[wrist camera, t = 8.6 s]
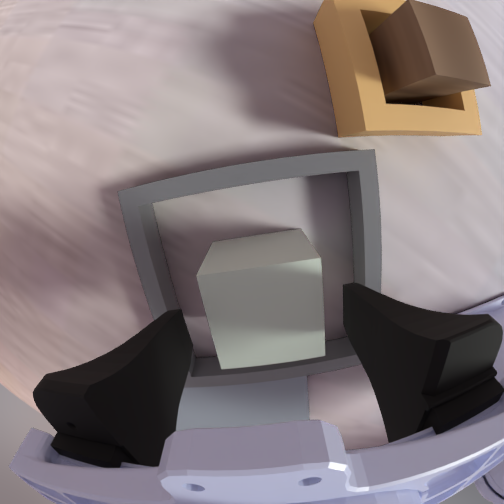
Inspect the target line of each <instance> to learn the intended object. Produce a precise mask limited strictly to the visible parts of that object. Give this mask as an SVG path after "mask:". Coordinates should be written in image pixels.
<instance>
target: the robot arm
mask: <svg viewBox="0 0 504 504" xmlns="http://www.w3.org/2000/svg"><path fill="white" fill-rule="evenodd" d="M343 324H344V327H345V330H346V332H347V335H348V338H349V341H350V343H351V345H352V347H353V348H354V350H355V352H356V354H357V356H358V358H359V360H360V362H361V364H362V365H363V367H364V369H365V371H366V373H367V375H368V377H369V379H370V382H371V384H372V387H373V390H374V392H375V395H376V398H377V401H378V404H379V408H380V411H381V414H382V418H383V421H384V425H385V429H386V433H387V437H388V442H389V443H388V444H385V445H382V446H378V447H371V448H362V449H353V450H345V447H344V444H343V440H342V436H341V434H340V432H339V430H338V427H337V426H336V425H333V424H330V423H327V422H324V421H321V420H294V421H288V422H280V423H272V424H263V425H253V426H241V427H223V428H193V429H187V430H180V431H176V424H177V417H178V409H179V404H180V400H181V396H182V393H183V389H184V386H185V382H186V379H187V375H188V371H189V368H190V364H191V357H192V349H193V344H192V341H191V338H190V335H189V332H188V329H187V326H186V323H185V320H184V317H183V314H182V310H181V309H176V310H168V311H167V312H165V313H163V314H162V315H161V316H159V317H158V318H157V319H156V320H154V321H153V322H152V323H150V324H149V325H148V326H147V327H145V328H144V329H143V330H142V331H140V332H139V333H138V334H136V335H135V336H133V337H132V338H131V339H129V340H128V341H126V342H125V343H123V344H122V345H120V346H119V347H117V348H115V349H114V350H112V351H110V352H108V353H107V354H104V355H102V356H100V357H98V358H96V359H94V360H92V361H89V362H87V363H84V364H82V365H79V366H76V367H73V368H70V369H66V370H62V371H58V372H54V373H49V374H46V375H45V376H44V377H43V379H42V380H41V381H40V382H39V384H38V385H37V386H36V388H35V389H34V391H33V398H34V401H35V403H36V406H37V407H38V409H39V410H40V411H41V413H42V414H43V415H44V417H45V418H46V419H47V420H48V422H49V423H50V424H51V425H52V426H53V427H54V429H55V430H56V431H57V434H56V436H55V437H53V436H52V435H50V434H49V433H46V432H44V431H41V430H38V429H35V428H31V429H30V431H29V432H28V434H27V436H26V437H25V439H24V441H23V442H22V444H21V446H20V447H19V449H18V451H17V453H16V454H15V456H14V458H13V460H12V462H11V463H10V465H9V468H10V469H11V470H12V471H13V472H14V473H15V474H16V475H18V476H19V477H20V478H21V479H22V480H23V481H25V482H26V483H27V484H28V485H30V486H31V487H32V488H33V489H35V490H36V491H37V492H39V493H40V494H41V495H43V496H44V497H45V498H47V499H48V500H50V501H52V502H54V503H56V504H438V503H440V502H442V501H444V500H446V499H447V498H449V497H451V496H452V495H454V494H455V493H457V492H459V491H461V490H462V489H464V488H465V487H467V486H468V485H470V484H471V483H473V482H474V483H475V485H476V488H477V489H478V491H479V493H480V494H481V495H482V496H483V497H484V498H485V499H486V500H488V501H490V502H492V503H494V504H504V295H503V296H501V297H499V298H496V299H494V300H492V301H489V302H487V303H484V304H482V305H479V306H477V307H474V308H472V309H469V310H466V311H464V312H461V313H458V314H450V313H442V312H436V311H430V310H426V309H422V308H418V307H415V306H411V305H408V304H405V303H402V302H400V301H397V300H395V299H392V298H390V297H387V296H385V295H383V294H381V293H379V292H377V291H374V290H372V289H370V288H368V287H366V286H364V285H361V284H359V283H351V284H345V285H343Z"/></svg>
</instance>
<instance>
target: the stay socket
mask: <svg viewBox="0 0 504 504" xmlns="http://www.w3.org/2000/svg"><path fill="white" fill-rule="evenodd" d="M404 2H406V1H405V0H324V1H323V3H322V5H321V7H320V9H319V12H318V14H317V16H316V18H315V20H314V22H313V24H314V27H315V31H316V34H317V38H318V42H319V45H320V49H321V53H322V57H323V61H324V66H325V70H326V74H327V79H328V83H329V88H330V93H331V98H332V103H333V108H334V114H335V119H336V125H337V131H338V138H339V137H356V136H382V135H425V136H456V135H482V131H481V124H480V118H479V112H478V106H477V101H476V96H475V92H474V89H473V90H468V91H463V92H458V93H454V94H450V95H445V96H441V97H437V98H433V99H429V100H426V101H422V103H423V106H418V105H403V104H386V101H385V97H384V92H383V87H382V83H381V78H380V74H379V70H378V66H377V62H376V58H375V55H374V51H373V48H372V44H371V41H370V38H369V35H370V34H371V33H372V32H373V31H374V30H375V29H376V28H377V27H378V26H379V25H380V24H381V23H382V22H384V21H385V20H386V19H387V18H388V17H389V16H390V15H391V14H392V13H393V12H394V11H395V10H397V9H398V8H399V7H400V6H401V5H402V4H403V3H404Z"/></svg>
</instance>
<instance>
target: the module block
mask: <svg viewBox="0 0 504 504" xmlns="http://www.w3.org/2000/svg"><path fill="white" fill-rule="evenodd" d="M196 277H197V281H198V285H199V289H200V293H201V297H202V301H203V305H204V309H205V313H206V316H207V320H208V324H209V328H210V331H211V335H212V338H213V342H214V345H215V349H216V352H217V356H218V359H219V363H220V366H221V369H231V368H242V367H252V366H261V365H269V364H277V363H284V362H291V361H297V360H304V359H310V358H315V357H321V356H325V324H324V299H323V280H322V265H321V257H320V256H319V254H318V253H317V251H316V250H315V248H314V247H313V245H312V244H311V242H310V241H309V239H308V238H307V236H306V235H305V234H304V232H303V231H302V229H295V230H288V231H281V232H274V233H267V234H260V235H254V236H247V237H240V238H234V239H227V240H221V241H214V242H212V244H211V246H210V248H209V250H208V252H207V254H206V256H205V258H204V260H203V263H202V265H201V267H200V269H199V271H198V273H197V275H196Z"/></svg>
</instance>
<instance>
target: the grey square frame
mask: <svg viewBox="0 0 504 504" xmlns="http://www.w3.org/2000/svg"><path fill="white" fill-rule="evenodd" d="M338 172H347V180H348V189H349V199H350V211H351V224H352V240H353V263H354V283H359V284H361V285H364V286H366V287H368V288H370V289H372V290H374V291H377V292H379V293H381V269H382V245H381V214H380V198H379V185H378V174H377V165H376V156H375V149H371V150H355V151H341V152H330V153H319V154H310V155H301V156H293V157H285V158H277V159H270V160H263V161H257V162H250V163H244V164H238V165H232V166H227V167H221V168H216V169H211V170H206V171H201V172H196V173H191V174H186V175H182V176H177V177H173V178H168V179H164V180H160V181H156V182H152V183H148V184H144V185H140V186H136V187H132V188H129V189H125V190H121V191H118V196H119V201H120V205H121V210H122V214H123V218H124V222H125V227H126V230H127V234H128V238H129V242H130V246H131V249H132V253H133V257H134V260H135V264H136V267H137V270H138V274H139V277H140V280H141V283H142V286H143V289H144V293H145V296H146V299H147V302H148V305H149V307H150V310H151V313H152V316H153V319H154V320H156V319H157V318H158V317H159V316H161V315H162V314H163V313H165V312H167V311H168V310H176V309H180V308H179V305H178V301H177V298H176V295H175V291H174V288H173V284H172V281H171V277H170V274H169V270H168V266H167V263H166V259H165V255H164V251H163V247H162V243H161V239H160V235H159V231H158V227H157V222H156V218H155V214H154V209H153V205H152V203H155V202H159V201H164V200H168V199H173V198H178V197H182V196H187V195H192V194H197V193H203V192H208V191H213V190H219V189H224V188H230V187H236V186H242V185H248V184H254V183H260V182H267V181H274V180H281V179H288V178H295V177H303V176H311V175H320V174H329V173H338ZM357 365H361V362H360V360H359V358H358V356H357V354H356V352H355V350H354V348H353V347H352V345H351V343H350V341H349V338H348V337H345V338H341V339H336V340H331V341H325V356H321V357H315V358H310V359H304V360H297V361H291V362H284V363H277V364H269V365H261V366H252V367H242V368H231V369H221V366H220V363H219V359H218V357H205V358H196V356H195V353H194V351H193V349H192V357H191V364H190V368H189V371H188V375H187V379H186V382H185V386H184V388H193V387H214V386H229V385H240V384H251V383H260V382H268V381H276V380H283V379H290V378H296V377H302V376H308V375H314V374H319V373H324V372H329V371H334V370H339V369H344V368H348V367H352V366H357Z"/></svg>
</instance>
